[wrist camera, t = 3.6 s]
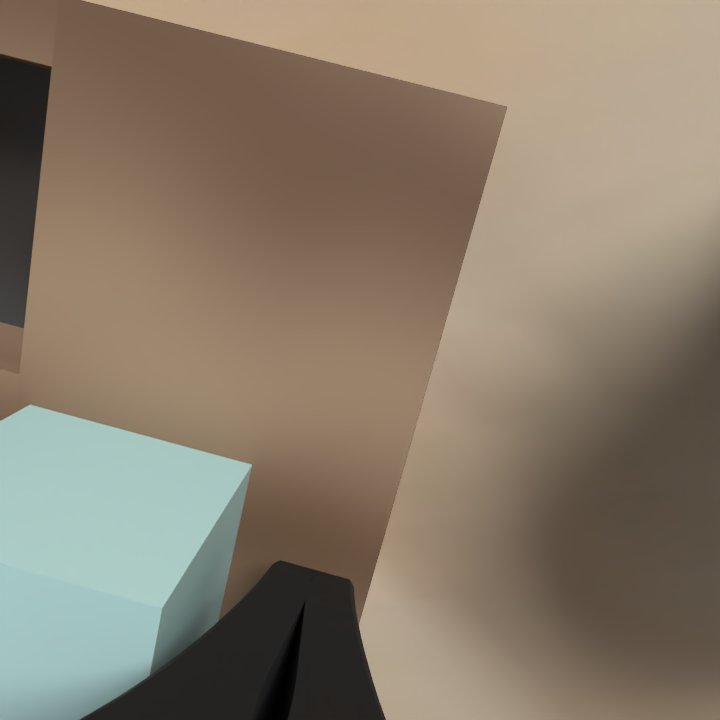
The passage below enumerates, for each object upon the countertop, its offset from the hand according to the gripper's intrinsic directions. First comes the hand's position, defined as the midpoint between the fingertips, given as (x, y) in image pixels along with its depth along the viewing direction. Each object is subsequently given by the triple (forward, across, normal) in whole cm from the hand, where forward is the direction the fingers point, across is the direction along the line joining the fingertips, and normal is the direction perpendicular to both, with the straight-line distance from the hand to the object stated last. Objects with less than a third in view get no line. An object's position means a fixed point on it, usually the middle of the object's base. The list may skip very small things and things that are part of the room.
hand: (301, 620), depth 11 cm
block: (+1, +4, 0) cm, 4 cm away
